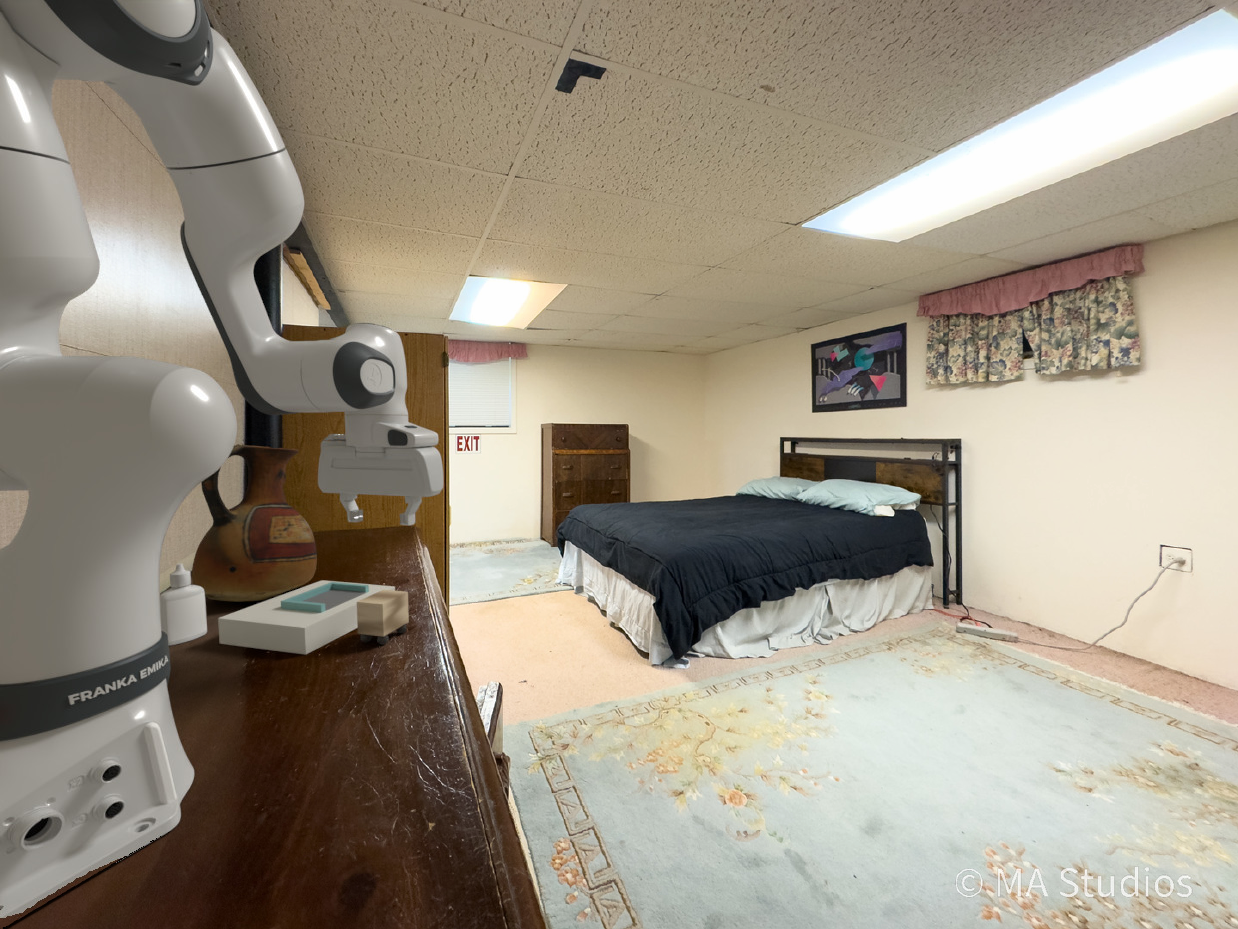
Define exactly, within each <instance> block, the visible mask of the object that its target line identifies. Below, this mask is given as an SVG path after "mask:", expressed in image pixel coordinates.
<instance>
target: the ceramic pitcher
mask: <svg viewBox="0 0 1238 929" xmlns="http://www.w3.org/2000/svg"><path fill="white" fill-rule="evenodd" d="M298 453H299V449H294V448H283V447H279V448H278V447H276V448H273V447H270V446H260V445H259V446H258V445H249V444H248V445H245V444H244V443H241V444H240V443H238V444H234V447H233V449H232V451H231V453H230V455H229V457H228V458H227V460H228V459H229V458H231V457H233V456H238V457H241V458H242V459H244V461H245V462H246V465H247V470H248V476H247V477H248V478H247V480H248V482H247V488H246V491H245V494H244V496H243V498H242V500H241V501H240V503H238V504H236V505H235V506H233V507H231V508H229V509H228V507H226V506H227V505H226V504H225V503H224V500H223V499H222V497H221V493H220V491H219V475H220V472H221V469H222V466H221V467H220V468H219V469H218V470H217V471H216V472H215V473H214V474H212V475H211V476H209V477H208V478H206V479H205V480H204V481H202V482H201V483H200V484H201V491H202V493H203V497H204V499H205V502H206V504H207V507H208V511H209V513H210V515H211V518H212V521H213V522H212V525H211V527H210V528H209V529H208V531H206V533H205V535H204V536H203V538H202V539H201V541H200V543H199V545H198V547H197V549H196V551H195V554H194V557H193V558H194V559H193V563H192V567H191V583H192V585H197V586H201V587H202V588H203V589H204V592H205V598H208V599H209V600H215V601H222V602H223V601H224V602H235V603H237V602H239V603H240V602H241V603H242V602H259V601H266V600H269V599H271V598H272V597H273V598H274V597H278V596H280V595H282V594H283V593H285V592H287V591H291V590H294V589H297V588H299V587H302V586H303V585H305V584H308V583H309V582H310V581H311V580H312V579H313V578H314V575H315V573H316V571H317V570H316V569H317V564H318V563H317V562H318V557H317V556H318V555H317V554H318V552H317V545H316V540H315V537H314V534H313V531H312V528H311V527H310V525H309V523H308V522H307V521H306V519H305V518H304V517H303V515H301V514H300V513H299V511H298V510H296V509H295V508H294V507H292V506H291V505H290V504H289V503H288V502H287V498H286V495H285V492H284V485H285V483H286V481H287V480H286V479H287V478H286V476H287V475H286V474H287V473H286V466H287V464H288V462H289V461H290V460H291V459H292V458H293V457H294V456H296V455H297V454H298Z"/></svg>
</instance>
